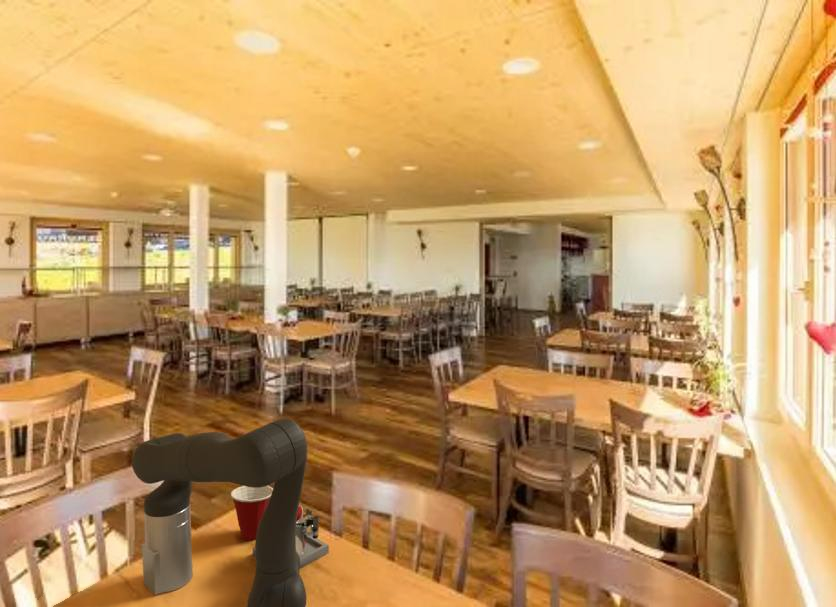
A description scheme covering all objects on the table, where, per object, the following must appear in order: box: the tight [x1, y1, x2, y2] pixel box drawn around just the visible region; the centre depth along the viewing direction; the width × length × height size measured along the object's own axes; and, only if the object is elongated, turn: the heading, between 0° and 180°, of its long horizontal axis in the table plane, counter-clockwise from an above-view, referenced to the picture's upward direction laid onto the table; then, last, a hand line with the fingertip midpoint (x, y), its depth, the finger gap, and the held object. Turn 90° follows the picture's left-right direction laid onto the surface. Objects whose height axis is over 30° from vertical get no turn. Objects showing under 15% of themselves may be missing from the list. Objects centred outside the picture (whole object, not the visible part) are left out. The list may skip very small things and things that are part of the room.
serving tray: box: [252, 535, 330, 569], centre depth 127 cm, size 13×13×2 cm
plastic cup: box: [230, 485, 274, 541], centre depth 135 cm, size 11×11×12 cm
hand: (291, 513), depth 128 cm, fingers open, 7 cm apart
